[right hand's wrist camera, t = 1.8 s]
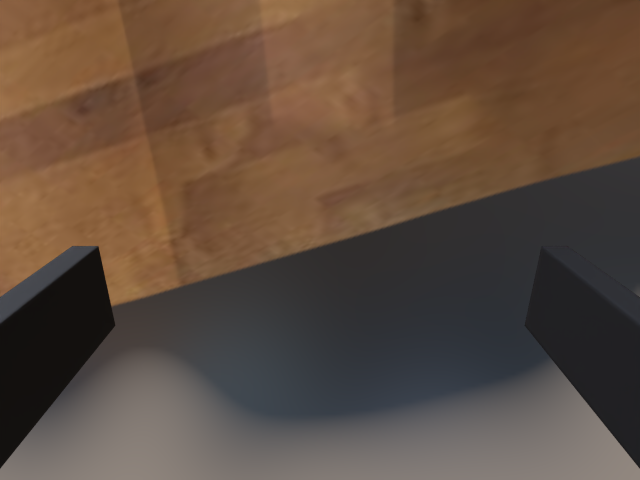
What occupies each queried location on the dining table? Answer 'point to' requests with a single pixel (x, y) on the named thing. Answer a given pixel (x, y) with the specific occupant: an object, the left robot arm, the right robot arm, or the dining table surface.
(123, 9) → the dining table surface
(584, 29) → the dining table surface
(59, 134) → the dining table surface
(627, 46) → the dining table surface
